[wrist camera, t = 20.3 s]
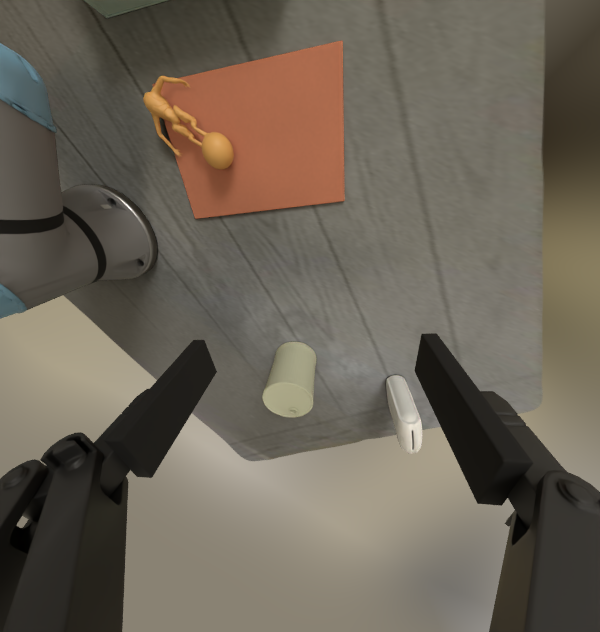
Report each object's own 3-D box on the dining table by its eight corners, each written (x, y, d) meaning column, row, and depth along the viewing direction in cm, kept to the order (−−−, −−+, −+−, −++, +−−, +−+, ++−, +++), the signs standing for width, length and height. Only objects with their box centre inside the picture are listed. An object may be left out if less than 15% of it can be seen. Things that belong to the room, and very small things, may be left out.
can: (288, 377, 52) (278, 424, 42) (267, 349, 48) (251, 392, 38) (323, 366, 49) (322, 414, 39) (304, 335, 46) (297, 378, 35)
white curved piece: (406, 404, 52) (426, 460, 42) (387, 406, 53) (401, 460, 43) (405, 373, 48) (427, 426, 37) (384, 375, 48) (399, 427, 38)
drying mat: (196, 218, 36) (195, 218, 36) (154, 85, 28) (152, 83, 28) (344, 200, 33) (344, 200, 32) (342, 42, 25) (342, 40, 24)
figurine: (249, 129, 28) (186, 66, 28) (209, 120, 23) (136, 45, 24) (230, 190, 33) (178, 136, 34) (196, 191, 29) (137, 130, 30)
